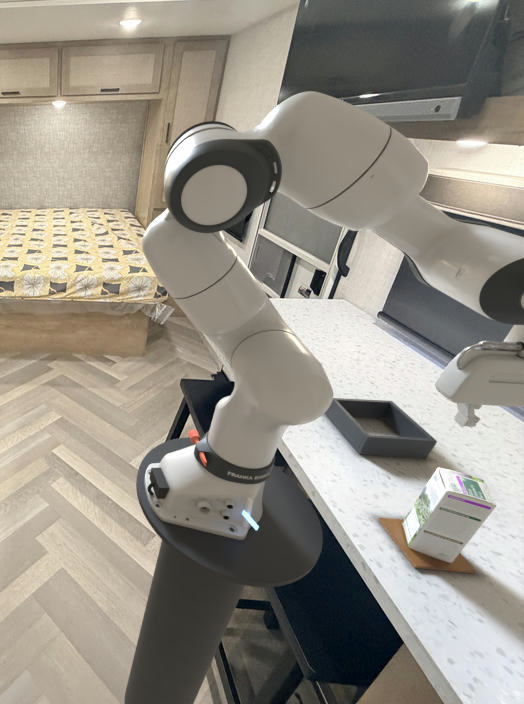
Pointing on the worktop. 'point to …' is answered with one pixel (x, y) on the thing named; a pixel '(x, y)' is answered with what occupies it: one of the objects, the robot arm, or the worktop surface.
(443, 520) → the syrup box
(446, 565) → the mat
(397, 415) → the bin
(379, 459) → the worktop surface
